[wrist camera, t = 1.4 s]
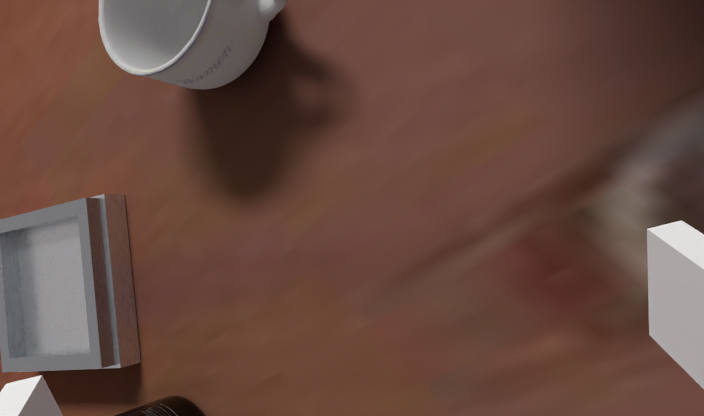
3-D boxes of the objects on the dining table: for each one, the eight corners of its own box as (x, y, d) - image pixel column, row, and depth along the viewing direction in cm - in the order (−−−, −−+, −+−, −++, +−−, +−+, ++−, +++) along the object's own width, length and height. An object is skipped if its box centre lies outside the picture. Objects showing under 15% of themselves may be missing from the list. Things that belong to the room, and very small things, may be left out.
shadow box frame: (26, 219, 57) (-12, 219, 54) (124, 194, 51) (88, 193, 48) (38, 367, 56) (0, 375, 53) (140, 362, 49) (104, 372, 46)
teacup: (169, 85, 48) (81, 63, 41) (195, -52, 47) (109, -99, 40) (309, 116, 41) (232, 95, 34) (344, -44, 40) (271, -98, 33)
